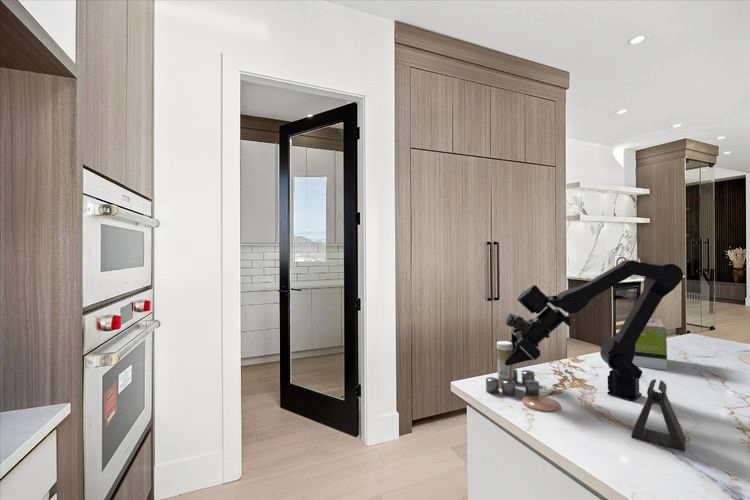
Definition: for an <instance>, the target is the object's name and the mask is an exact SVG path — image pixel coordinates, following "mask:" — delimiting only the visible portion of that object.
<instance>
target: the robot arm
mask: <svg viewBox="0 0 750 500" xmlns="http://www.w3.org/2000/svg"><path fill="white" fill-rule="evenodd" d="M632 276H639V277H643V279H644V280H643V289H642V291H641V294H640V295H639V297H638V299H637V300H636V302H635V303H634V305H633V307H632V309H631V310H630V312H629V313H628V315H627V317H626V319H625V321H624V323H623V324H622V326H621V327H620V330H619V331H618V332H617V334H615V335H614V336H612V337H610V336H608V335H606V336H605V338H604V340H603V343H602V344H600V345H599V348H600V351H599V354H600V358H601V359H602V360H603V362H605V363H606V364H607V366H608V368H609V369H611V370H609V371H608V372H609V375H607V390H608V392H606V393H607V395H610V396H612V397H616V398H620V399H625V400H627V401H632V402H635V401H637V400H638V399H639V398H641V396H642V394H643V393H642V392H640V379H641V378H642V375H643V370H641V368H640V367H639V366H636V365H635V364H634V363H632V362H633V359H634V356H635V347H636V342H637V340H638V338H639V337H640V335H641V333H642V332H643V330H644V328H645V327H646V325H647V323H648V321H649V320H650V319H652V316H653V315H654V313H655V311H656V309H657V308H658V306H659V305H660V303H661V301H662V300H663V298H664V297H666V296H667V295H669V294H670V293H671V292H672V291H674V290H675V288H676V287H678V285H679V284H681V282H682V281H683V278H684V273H683V270H682V269H681V267H680V266H678V265H677V264H675V263H663V262H657V263H652V264H651V263H645V262H639V261H636V260H632V259H625V260H622V261H621V262H620V263H619V264H617V265H615V266H613V267H611V268H610V269H608V270H607V271H605V272H603V273H602V274H600V275H598V276H596V277H594V278H593V279H591V280H589V281H588V282H586V283H584V284H582V285H578V286H575V287H572V288H569V289H566V290H563V291H561V292H559V293H558V294H557V295H548V296H547V295H545V293H543V292H542V291H541V290H540V288H539V287H538V286H537V285H535V284H533V285H531V286H530V287H529V288H527V289H526V290H523V291H522V292H521V293H520V294H519V296H518V297H517V299H516V300H517V301H518V302H519V304H520V305H522V306H523V307H524V308H525V309H526V310H527V311H529V313H530V314H534V313H536V314H537V315H536V317H534V319H533V318H530V319H528V320H526V319H525V318H524V317H523V316H522V317H521V316H520V315H516V314H513V313H509V314H508V316H507V318H506V320H505V324H506V325H507V326H508V327H511V328H512V329H511V332H510V336H511V337H510V338H511V339H510V341H509V342H511V343H513V351H512V354H511V355H510V356H509V357H508V359H507V360H506V361H505V365H506V366H509V365H513V366H514V365H516V364H519V363H523V362H528V361H533V360H534V361H536V360H537V359H538V358H539V357H541V350H540V349H539V347H540V343H541V342H542V341H543V340H545V338H546V339H549V338H550V337H551V335H550V334H551V333H552V332H554V330H556V328H558V327H559V326H560V325H561V324H562V323H564V324H565V325H566V326H568V327H571V326H572V325H571V319H572V317H571V316H570V315H565V314H564V313H563V312H565V313H567V314H573V315H575V314H576V313H579V312H580V311H581V310H582V309H584V308H585V307H586V306H587V305H588V304H589V303H590V302H591V300H593V298H595V297H596V296H598V295H600V294H602V293H604V292H605V291H607V290H609V289H610V288H612V287H615V286H616V285H617V284H620V283H621V282H623V281H625V280H627V279H628V278H630V277H632ZM549 304H550V305H551V306H553V307H554V308H555V309H553V308H552V307H551V306H550V305H549ZM558 308H559V309H558ZM562 311H563V312H562Z"/></svg>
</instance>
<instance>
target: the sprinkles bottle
mask: <svg viewBox="0 0 750 500" xmlns="http://www.w3.org/2000/svg"><path fill="white" fill-rule="evenodd" d="M496 349H497V350H496V351H497V376H498V377H497V379H499V389H500V388H501V389H502V380H504V379H509V380H513V369H514V364H513V365H509V366H506V365H505V361H506V360H507V359H508V357H509V356H510V355H511V354H512V351H513V343H511V342H510V341H507V340H499V341H497V342H496Z"/></svg>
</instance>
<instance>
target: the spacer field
mask: <svg viewBox="0 0 750 500" xmlns="http://www.w3.org/2000/svg"><path fill="white" fill-rule="evenodd" d="M535 378H536V377H535V372H534V371H533V370H528V369H526V370H525V369H524V370H521V384H522V385H524V387H525V388H524V390H525V392H524V393H525V395H526V396H531V395H539V396H540V382H539V381H538V380H536V379H535ZM518 379H519V378H518V370H517V369H515V368H513V380H509V379H504V380H502V388H501V394H502V395H503V396H507V397H514V396H516V384H518ZM485 390H486V391H485V392H486V393H487V394H492V395H494V394H495V395H496V394H499V393H500V387H499V379H498V377H494V376H493V377H491V376H490V377H489V376H488V377H486V378H485Z"/></svg>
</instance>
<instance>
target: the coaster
mask: <svg viewBox="0 0 750 500" xmlns="http://www.w3.org/2000/svg"><path fill="white" fill-rule="evenodd" d="M522 404H523V406H525V407H527V408H529V409H531V410H534V411H538V412H543V413H544V412H547V413H550V412H552V413H553V412H557V411H559V410H560V409H561V406H560V402H559V401H558V400H556V399H554V398H551V397H548V396H544V395H540V394H539V395H531V396H528V395H526V396H524V397H523V398H522Z"/></svg>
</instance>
